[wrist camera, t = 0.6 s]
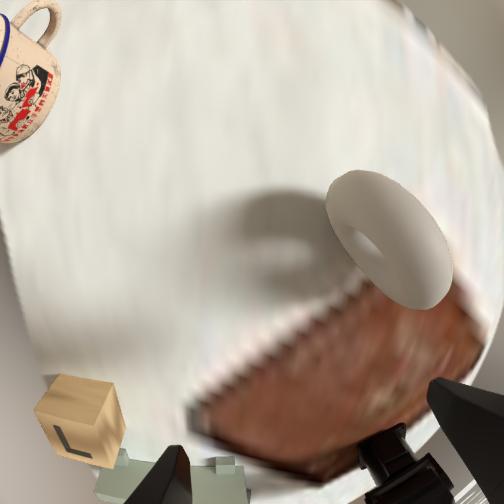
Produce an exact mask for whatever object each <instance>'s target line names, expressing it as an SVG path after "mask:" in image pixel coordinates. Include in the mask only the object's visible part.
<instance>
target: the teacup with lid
mask: <svg viewBox="0 0 504 504" xmlns="http://www.w3.org/2000/svg"><path fill="white" fill-rule="evenodd" d="M43 8H48V10H49V12H50V22H49V25H48V27H47V29H46V31H45V32H44V34H43V35H42V37H41V38H40V39H39V40H38V41H37V42H35V41H33V40H32V39H31V38H29V37H28V36H26V35H25V34H24V33H22V32H21V31H20V30H18V29H19V28H20V27H21V26H22V24H23V23H24V22H25V21H26V20H27V19H28V18H29V17H30V16H31V15H32V14H33V13H35V12H36V11H38V10H40V9H43ZM60 24H61V10H60V7H59V5H58V4H57V3H56V2H55V1H54V0H34V1H33V2H31V3H29V4H28V5H26V6H25V7H24V8H23V9H22V10H21V11H20V12H19V13H18V14H17V15H16V16H15V17H14V19H13V20H12V21H11V22H10V23H9V20H8V18H7V17H6V16H5V15H3V14H0V142H2V143H16V142H19V141H21V140H23V139H25V138H27V137H28V136H29V135H31V134H32V133H33V132H34V131H35V130H36V129H37V128H38V127H39V126H40V125H41V124H42V122H43V121H44V120H45V118H46V117H47V115H48V113H49V112H50V110H51V108H52V106H53V104H54V102H55V99H56V97H57V93H58V90H59V85H60V75H61V74H60V67H59V63H58V61H57V59H56V58H55V57H54V56H53V55H52V54H51V53H50V52H48V51H47V50H45V48H46V47H47V46H48V45H49V43H50V42H51V41H52V40H53V38H54V37H55V35H56V33H57V32H58V30H59V27H60Z"/></svg>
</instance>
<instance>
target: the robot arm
mask: <svg viewBox="0 0 504 504" xmlns="http://www.w3.org/2000/svg"><path fill="white" fill-rule="evenodd" d="M427 402H428V404H429V406H430V408H431V409H432V411H433V413H434V415H435V417H436V419H437V421H438V423H439V425H440V427H441V428H442V430H443V432H444V433H445V435H446V436H447V438H448V439H449V441H450V442H451V443H452V445H453V446H454V448H455V449H456V451H457V452H458V454H459V455H460V457H461V459H462V460H463V462H464V463H465V465H466V466H467V468H468V469H469V471H470V472H471V474H472V475H473V477H474V479H475V480H476V482H477V483H478V485H479V487H480V488H481V490H482V492H483V493H484V495H485V496H486V498H487V500H488V502H489V503H490V504H504V395H500V394H497V393H493V392H490V391H486V390H483V389H479V388H475V387H472V386H469V385H465V384H462V383H459V382H455V381H452V380H449V379H446V378H442V377H437V378H435V379H433V380H431V381H430V383H429V388H428V392H427ZM405 436H406V424H405V423H401V424H399V425H398V426H396V427H394V428H392V429H390V430H388V431H386V432H384V433H382V434H380V435H378V436H376V437H373V438H371V439H369V440H367V441H365V442H362V443H360V444H359V445H358V446H357V449H358V457H359V465H360V469H361V470H364V469H366V468H367V469H368V471H369V472H370V474H371V476H372V478H373V480H374V482H375V484H376V486H377V488H375V489H373V490H372V491H370V492H367V493H365V497H366V498H365V499H364V501H365V503H366V504H456V503H455V500H454V497H453V495H452V494H451V492H450V490H451V489H453V488H454V485H453V484H452V482H451V481H450V479H449V477H448V476H447V475H446V473H445V472H444V471H443V469H442V468H441V467H440V466H439V464H438V463H437V462H436V461H435V459H434V458H433V457H432V456H431V454H430V453H429V452H428V453H427V454H426V455H425V456H424V457H423V458H421V459H420V460H419V459H418V458H417V457H416V455H415V454H414V452H413V451H412V449H411V448H410V446H409V445H408V444H407V442H406V441H405ZM123 504H193V497H192V484H191V471H190V461H189V458H188V456H187V454H186V452H185V451H184V449H183V447H182V446H181V445H170V446H168V448H167V449H166V450H165V452H164V453H163V454H162V455H161V457H160V458H159V459H158V461H157V462H156V463H155V465H154V466H153V467H152V468H151V470H150V471H149V472H148V474H147V475H146V476H145V477H144V479H143V480H142V481H141V482H140V484H139V485H138V486H137V487H136V489H135V490H134V491H133V492H132V494H131V495H130V496H129V497H128V499H127V500H126V501H125V502H124V503H123Z"/></svg>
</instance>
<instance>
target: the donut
mask: <svg viewBox="0 0 504 504" xmlns="http://www.w3.org/2000/svg"><path fill="white" fill-rule="evenodd" d="M326 211H327V215H328V218H329V221H330V225H331V227H332V229H333V230H334V232H335V234H336V236H337V238H338V239H339V241H340V242H341V244H342V246H343V247H344V249H345V250H346V251H347V253H348V254H349V255H350V257H351V258H352V259H353V261H354V262H355V263H356V264H357V265H358V267H359V268H360V269H361V270H362V271H363V273H364V274H365V275H366V276H367V277H368V278H369V279H370V280H371V281H372V282H373V283H374V284H375V285H376V286H377V287H378V288H379V289H380V290H381V291H382V292H383V293H384V294H385V295H387V296H388V297H389V298H391V299H392V300H393V301H395V302H396V303H398V304H400V305H402V306H404V307H406V308H409V309H417V310H426V309H429V308H432V307H434V306H435V305H436V304H438V303H439V302H440V301H441V300H442V299H443V298H444V296H445V295H446V294H447V292H448V291H449V289H450V286H451V282H452V270H453V264H452V257H451V254H450V251H449V247H448V244H447V241H446V239H445V237H444V235H443V233H442V231H441V230H440V228H439V226H438V224H437V223H436V221H435V219H434V218H433V217H432V216H431V214H430V213H429V212H428V211H427V210H426V208H425V207H424V206H423V205H422V204H421V203H420V201H419V200H418V199H417V198H416V197H415V196H413V195H412V194H411V193H410V192H409V191H407V190H406V189H405V188H404V187H402V186H401V185H400V184H399V183H397V182H396V181H394V180H392V179H390V178H388V177H386V176H384V175H382V174H380V173H376V172H371V171H363V170H354V171H349V172H348V173H346V174H344V175H342V176H341V177H339V178H337V179H335V180H334V182H333V183H332V184H331V185H330V187H329V190H328V192H327V198H326Z"/></svg>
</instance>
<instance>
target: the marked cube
mask: <svg viewBox="0 0 504 504" xmlns="http://www.w3.org/2000/svg"><path fill="white" fill-rule="evenodd" d="M34 412H35V414H36V416H37V418H38V420H39V422H40V424H41V426H42V428H43V430H44V432H45V434H46V436H47V438H48V439H49V441H50V443H51V445H52V447H53V448H54V450H55V452H56V454H57V455H60V456H63V457H66V458H70V459H73V460H77V461H81V462H84V463H88V464H92V465H96V466H101V467H105V468H110V469H113V468H114V465H115V461H116V458H117V455H118V451H119V448H120V445H121V442H122V439H123V435H124V432H125V429H126V425H125V422H124V419H123V416H122V412H121V409H120V405H119V402H118V398H117V394H116V390H115V386H114V383H111V382H104V381H97V380H91V379H85V378H79V377H74V376H69V375H64V374H59V375H58V377H57V378H56V379H55V381H54V382H53V383H52V385H51V386H50V388H49V389H48V390H47V392H46V393H45V395H44V396H43V397H42V399H41V400H40V402H39V403H38V404H37V406H36V407H35V409H34Z"/></svg>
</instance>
